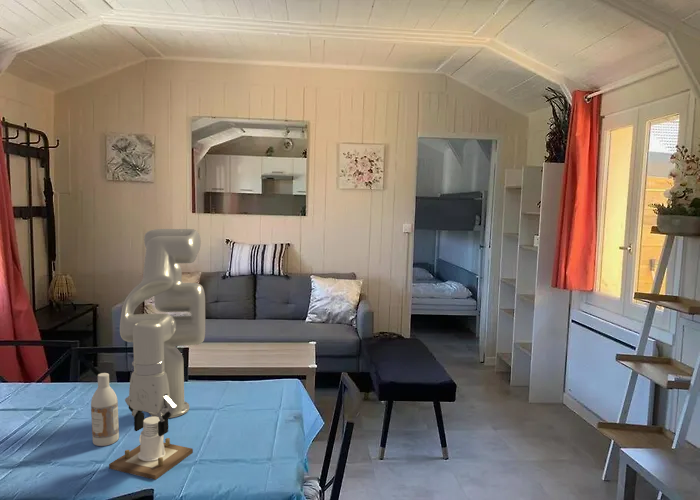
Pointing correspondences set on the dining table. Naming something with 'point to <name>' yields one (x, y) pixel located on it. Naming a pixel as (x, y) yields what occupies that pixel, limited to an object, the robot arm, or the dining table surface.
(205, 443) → the dining table surface
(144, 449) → the downlight
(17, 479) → the dining table surface
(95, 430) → the bath foam
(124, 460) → the pin board
